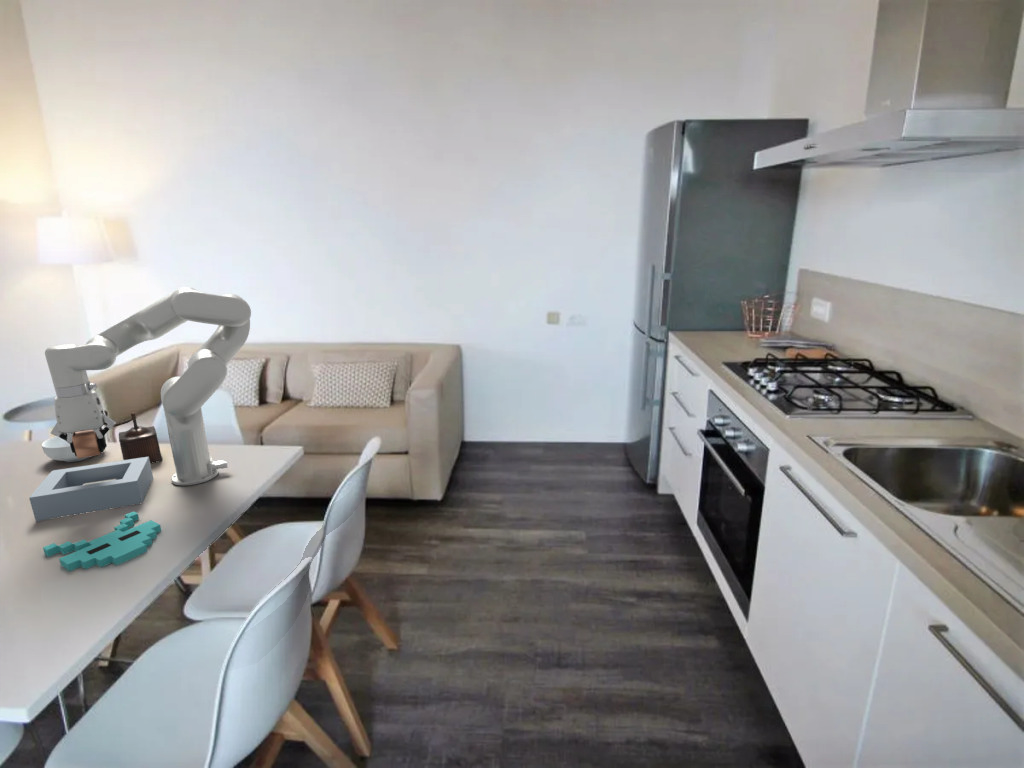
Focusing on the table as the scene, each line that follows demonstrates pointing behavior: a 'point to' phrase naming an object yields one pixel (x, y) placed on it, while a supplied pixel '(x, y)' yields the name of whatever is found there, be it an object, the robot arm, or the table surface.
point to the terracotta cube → (85, 444)
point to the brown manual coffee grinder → (138, 441)
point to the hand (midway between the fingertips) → (90, 451)
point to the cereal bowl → (60, 450)
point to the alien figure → (108, 545)
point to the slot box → (92, 488)
